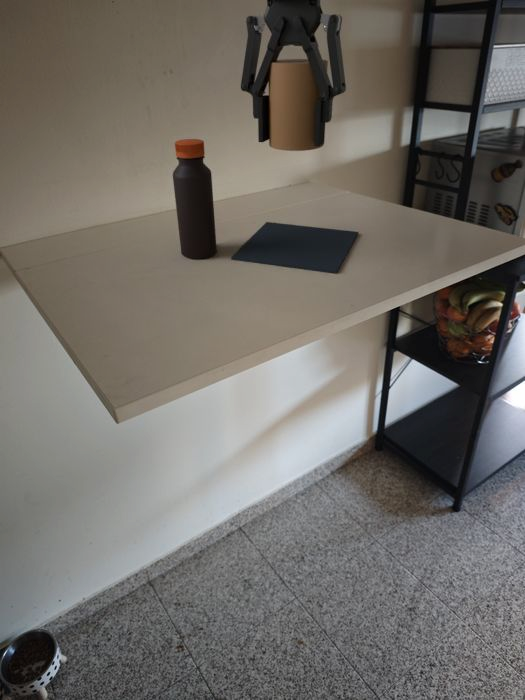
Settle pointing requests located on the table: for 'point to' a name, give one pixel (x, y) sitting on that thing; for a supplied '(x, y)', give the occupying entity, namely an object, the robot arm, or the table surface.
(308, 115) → the paper roll
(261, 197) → the table surface
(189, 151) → the bottle
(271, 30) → the robot arm
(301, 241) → the slate mat
